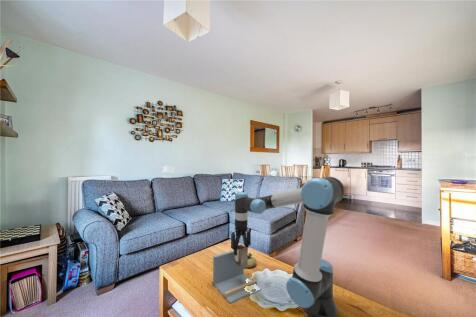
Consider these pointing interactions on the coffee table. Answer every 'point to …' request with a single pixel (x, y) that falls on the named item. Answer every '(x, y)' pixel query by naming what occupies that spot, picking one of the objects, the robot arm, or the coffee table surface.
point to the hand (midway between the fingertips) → (240, 259)
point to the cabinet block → (242, 256)
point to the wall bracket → (230, 277)
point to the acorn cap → (250, 261)
